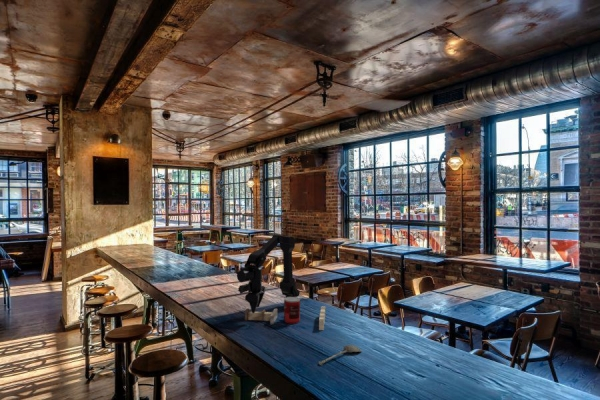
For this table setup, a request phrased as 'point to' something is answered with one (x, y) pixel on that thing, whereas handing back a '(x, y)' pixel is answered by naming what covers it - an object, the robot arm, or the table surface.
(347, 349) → the soupspoon
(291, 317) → the canned food
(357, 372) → the table surface
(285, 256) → the robot arm
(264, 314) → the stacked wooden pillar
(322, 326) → the stop rail
